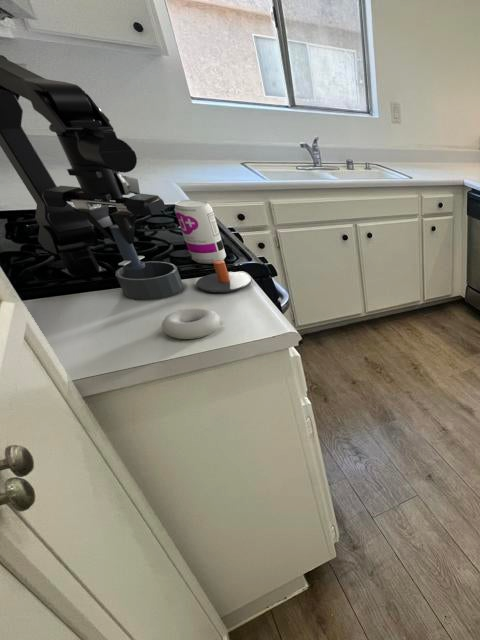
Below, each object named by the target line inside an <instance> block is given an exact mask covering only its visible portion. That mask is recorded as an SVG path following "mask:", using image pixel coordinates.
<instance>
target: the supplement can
mask: <svg viewBox="0 0 480 640" xmlns="http://www.w3.org/2000/svg"><path fill="white" fill-rule="evenodd" d="M174 204H175V206H174V213H175V216H176V219H177V222H178V225H179V228H180V231H181V233H182V235H183V239H184V241H185V244H186V247H187V250H188V254H189V256H190V259H191V260H193V261H194V262H196V263H198V264H203V265H205V264H206V265H207V264H210V265H211V264H213V261H215V260H223V261H225V258H226V257H227V253H226V251H225V247H224V244H223V240H222V237H221V234H220V230H219V226H218V223H217V220H216V216H215V213H214V210H213V208H212V206H211V205H210V204H209V203H208V201H206V200H202V199H182V200H178V201H176V202H175V203H174Z"/></svg>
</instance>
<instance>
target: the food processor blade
mask: <svg viewBox="0 0 480 640" xmlns="http://www.w3.org/2000/svg"><path fill="white" fill-rule="evenodd" d="M109 228H110V230H111V233H112V235H113V237H114V239H115V242H116V243H115V242H114V243H115V244H116V246H117V249H118V251H119V253H120V255H121V257H122V261H121V262H119V263H117V264H118V266H122V267H123V268H124V269H125V270H139V269H143V268H145V264H144V262H145V261H142V259H144V258H146V257H145V256H144V255H138V253H137V250H136V249H135V246H134V243H132V244H129V243H128V241H127V240H126V239H125V237H124V236H123V234H122V232H121V231H120V229H119V227H118V225H117V224H113V225H111V226H109Z"/></svg>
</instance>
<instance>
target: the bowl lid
mask: <svg viewBox="0 0 480 640" xmlns="http://www.w3.org/2000/svg"><path fill="white" fill-rule="evenodd" d="M212 264H213V267H214V270H215V272H214V273H210V274H207V275H204V276H201V277H200V278H198V280H197V281H196V287H197V288H198V289H200V290H201V291H204V292H209V293H229V292H236V291H239V290H242V289H245V288H247V287H249V285H251V283H252V282H253V281H252V278H251V276H250V275H249V274H247V273H243V272H240V271H239V272H238V271H228V269H227V266H226V262H225V260H215V261H213V263H212Z"/></svg>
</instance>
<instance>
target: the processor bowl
mask: <svg viewBox="0 0 480 640" xmlns="http://www.w3.org/2000/svg"><path fill="white" fill-rule="evenodd" d="M143 262H144V264H145V268H143V269H139V270H125V269H124V268H123V266H122V267H119V268H118V269H117V270H115V272H114V273H115V277H116V280H117V282H118V283H119V286H120V287H121V290H122V292H123V294H124V296H125V297H127V298H130V299H132V300H137V301H138V300H139V301H151V300H160V299H165V298H169V297H173V296H175V295H177V294H179V293H181V292H182V291H183V290H184V288H185V287H184V284H183V283H184V282H183V281H182V278H181V275H180V272H179V270H178V267H177V265H175V264H173V263H171V262H166V261H153V260H152V261H143Z"/></svg>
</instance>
